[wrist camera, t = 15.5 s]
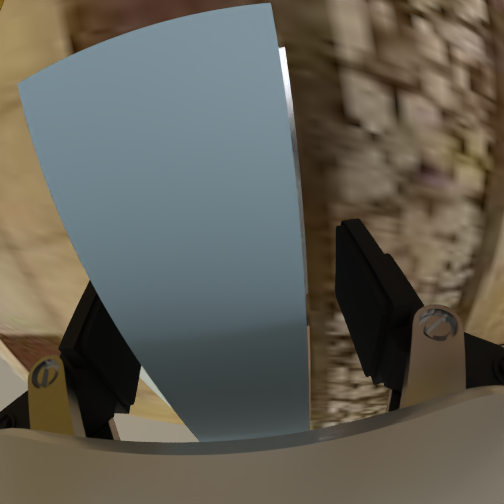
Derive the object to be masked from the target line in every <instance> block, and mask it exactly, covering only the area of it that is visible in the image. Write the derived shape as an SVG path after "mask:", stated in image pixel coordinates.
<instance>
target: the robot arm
mask: <svg viewBox="0 0 504 504" xmlns="http://www.w3.org/2000/svg"><path fill="white" fill-rule="evenodd" d="M335 292H336V298H337V301H338V303H339V306H340V308H341V311H342V314H343V316H344V319H345V322H346V324H347V327H348V330H349V332H350V335H351V338H352V340H353V343H354V346H355V349H356V351H357V354H358V357H359V360H360V363H361V366H362V368H363V371H364V374H365V376H366V377H369V376H371V378H372V381H373V384H374V385H375V384H379V383H384V386H385V387H387V388H390V393H389V399H388V404H387V409H386V413H384V414H380V415H377V416H373V417H369V418H365V419H361V420H357V421H353V422H349V423H344V424H340V425H335V426H331V427H326V428H321V429H315V430H310V431H304V432H298V433H292V434H285V435H278V436H270V437H262V438H253V439H243V440H231V441H215V442H188V443H161V442H133V441H121V440H120V437H119V434H118V431H117V428H116V425H115V422H114V419H113V417H114V413H124V414H129V411H130V405H133V404H134V402H135V397H136V392H137V386H138V381H139V376H140V371H141V366H142V365H141V364H140V362H139V361H138V359H137V358H136V356H135V355H134V353H133V352H132V350H131V349H130V347H129V346H128V344H127V343H126V341H125V339H124V338H123V336H122V335H121V333H120V331H119V330H118V328H117V326H116V325H115V323H114V321H113V320H112V318H111V316H110V315H109V313H108V311H107V310H106V308H105V306H104V304H103V303H102V301H101V299H100V297H99V295H98V294H97V292H96V290H95V288H94V286H93V284H92V282H91V281H89V283H88V285H87V287H86V289H85V291H84V293H83V295H82V297H81V299H80V301H79V303H78V305H77V308H76V310H75V312H74V314H73V316H72V318H71V321H70V323H69V325H68V327H67V330H66V332H65V334H64V336H63V339H62V341H61V344H60V346H59V348H58V349H59V350H60V351H61V355H60V357H57V356H55V355H49V356H46V357H44V358H42V359H40V360H39V361H38V362H37V363H36V364H35V365H34V366H33V367H32V369H31V371H30V373H29V376H28V391H26V392H25V393H24V394H22V395H21V396H20V397H18V398H17V399H16V400H15V401H13V402H12V403H11V404H10V405H8V406H7V407H6V408H4V409H3V410H2V411H1V412H0V504H504V345H502V346H499V345H497V344H494V343H491V342H489V341H486V340H483V339H481V338H478V337H475V336H473V335H470V334H468V333H465V332H464V329H463V324H462V320H461V319H460V317H459V316H458V314H457V313H455V312H454V311H453V310H452V309H450V308H448V307H446V306H442V305H427V306H424V305H423V303H422V301H421V300H420V298H419V297H418V295H417V294H416V292H415V290H414V289H413V287H412V286H411V284H410V283H409V281H408V280H407V278H406V277H405V275H404V274H403V272H402V271H401V269H400V268H399V266H398V265H397V263H396V262H395V261H394V259H393V258H392V256H391V255H390V254H387V253H386V254H384V253H383V251H382V250H381V249H380V247H379V246H378V244H377V243H376V241H375V240H374V238H373V237H372V236H371V234H370V233H369V231H368V230H367V229H366V227H365V226H364V224H363V223H362V222H361V220H360V219H351V220H344V221H342V222H341V226H337V227H336V279H335Z"/></svg>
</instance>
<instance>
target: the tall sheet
mask: <svg viewBox="0 0 504 504" xmlns="http://www.w3.org/2000/svg"><path fill="white" fill-rule="evenodd" d="M17 85H18V89H19V94H20V98H21V102H22V106H23V110H24V114H25V118H26V121H27V125H28V128H29V132H30V135H31V138H32V142H33V145H34V148H35V151H36V154H37V157H38V160H39V163H40V166H41V169H42V172H43V175H44V177H45V180H46V183H47V185H48V188H49V191H50V193H51V196H52V198H53V201H54V203H55V206H56V208H57V211H58V213H59V215H60V218H61V220H62V222H63V225H64V227H65V229H66V231H67V234H68V236H69V238H70V240H71V242H72V244H73V247H74V249H75V251H76V253H77V255H78V257H79V259H80V261H81V263H82V265H83V267H84V269H85V271H86V273H87V275H88V277H89V279H90V281H91V282H92V284H93V286H94V288H95V290H96V292H97V294H98V295H99V297H100V299H101V301H102V303H103V304H104V306H105V308H106V310H107V311H108V313H109V315H110V316H111V318H112V320H113V321H114V323H115V325H116V326H117V328H118V330H119V331H120V333H121V335H122V336H123V338H124V339H125V341H126V343H127V344H128V346H129V347H130V349H131V350H132V352H133V353H134V355H135V356H136V358H137V359H138V361H139V362H140V364H141V365H142V367H143V368H144V370H145V371H146V373H147V374H148V376H149V377H150V378H151V380H152V381H153V383H154V384H155V385H156V387H157V388H158V390H159V391H160V392H161V394H162V395H163V396H164V398H165V399H166V400H167V402H168V403H169V404H170V406H171V407H172V408H173V409H174V411H175V412H176V413H177V415H178V416H179V417H180V418H181V420H182V421H183V422H184V423H185V425H186V426H187V427H188V428H189V429H190V431H191V432H192V433H193V434H194V436H195V437H196V438H197V439H198V440H199V441H200V442H215V441H231V440H243V439H253V438H262V437H270V436H278V435H285V434H292V433H298V432H304V431H310V428H309V370H308V342H307V320H306V301H305V285H304V269H303V256H302V243H301V230H300V219H299V208H298V197H297V187H296V177H295V168H294V159H293V150H292V141H291V133H290V125H289V117H288V110H287V102H286V95H285V88H284V81H283V74H282V67H281V61H280V54H279V48H278V42H277V36H276V30H275V24H274V18H273V13H272V7H271V3H263V4H254V5H246V6H238V7H231V8H225V9H219V10H213V11H208V12H203V13H198V14H193V15H189V16H185V17H180V18H176V19H172V20H168V21H165V22H161V23H157V24H154V25H151V26H147V27H144V28H141V29H138V30H135V31H131V32H129V33H126V34H123V35H120V36H117V37H114V38H112V39H109V40H106V41H104V42H101V43H99V44H96V45H94V46H91V47H89V48H87V49H84V50H82V51H80V52H78V53H75V54H73V55H71V56H69V57H67V58H65V59H62V60H60V61H58V62H56V63H54V64H52V65H50V66H48V67H47V68H45V69H43V70H41V71H39V72H37V73H35V74H34V75H32V76H30V77H28V78H27V79H25V80H23V81H21V82H20V83H18V84H17Z"/></svg>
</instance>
